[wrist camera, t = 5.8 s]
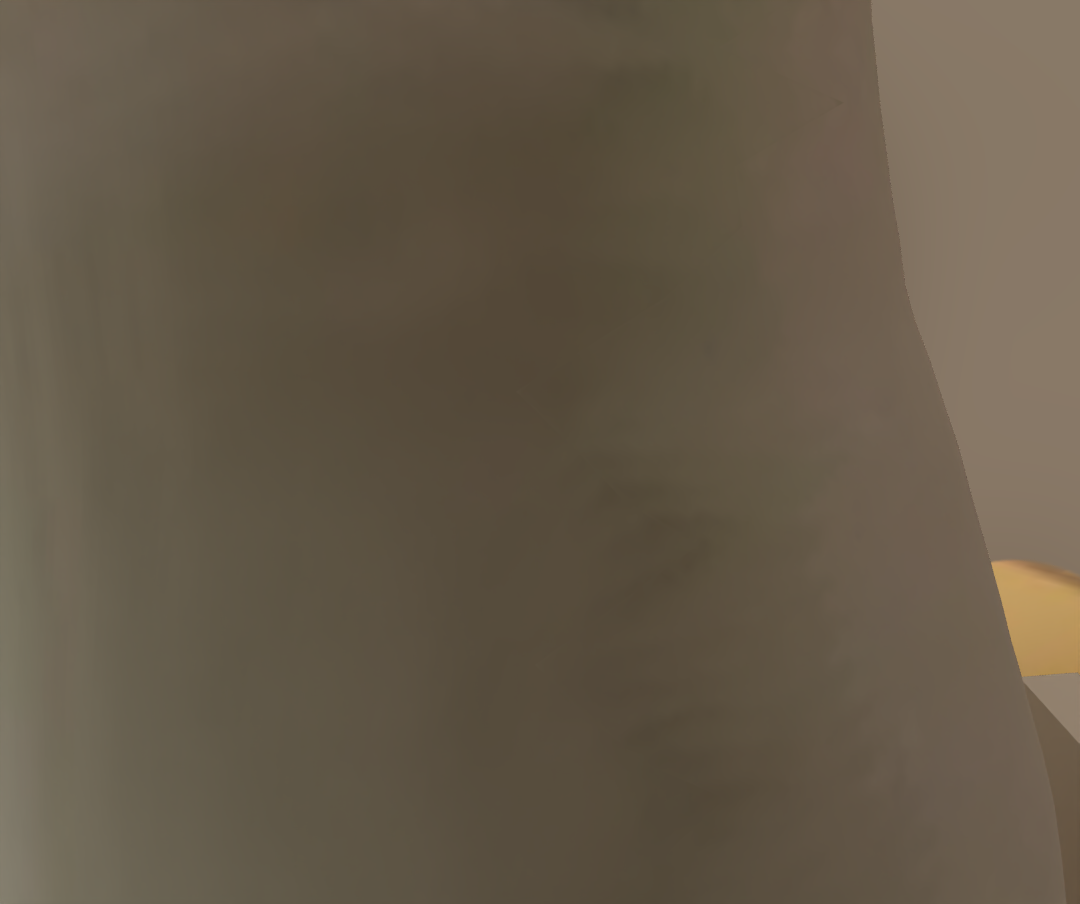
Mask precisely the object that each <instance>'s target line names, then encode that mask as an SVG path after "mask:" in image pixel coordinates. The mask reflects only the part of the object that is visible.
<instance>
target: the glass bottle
mask: <svg viewBox="0 0 1080 904" xmlns="http://www.w3.org/2000/svg"><path fill="white" fill-rule="evenodd" d="M0 904H1066V894H1065V884H1064V874H1063V864H1062V856H1061V848H1060V841H1059V834H1058V826H1057V819H1056V812H1055V805H1054V800H1053V796H1052V791H1051V787H1050V782H1049V778H1048V773H1047V769H1046V764H1045V760H1044V756H1043V752H1042V748H1041V745H1040V741H1039V738H1038V734H1037V730H1036V727H1035V723H1034V719H1033V716H1032V712H1031V709H1030V705H1029V701H1028V698H1027V694H1026V691H1025V687H1024V683H1023V680H1022V676H1021V673H1020V669H1019V665H1018V662H1017V659H1016V655H1015V652H1014V649H1013V645H1012V642H1011V638H1010V634H1009V630H1008V626H1007V622H1006V618H1005V614H1004V610H1003V606H1002V602H1001V598H1000V595H999V591H998V587H997V584H996V580H995V576H994V573H993V569H992V565H991V562H990V558H989V555H988V551H987V548H986V544H985V541H984V537H983V534H982V530H981V527H980V523H979V520H978V516H977V513H976V509H975V506H974V502H973V499H972V495H971V492H970V488H969V484H968V480H967V476H966V473H965V469H964V465H963V461H962V457H961V454H960V450H959V446H958V443H957V440H956V437H955V434H954V431H953V428H952V425H951V422H950V419H949V416H948V414H947V410H946V408H945V405H944V401H943V399H942V395H941V392H940V389H939V386H938V383H937V380H936V377H935V374H934V371H933V368H932V365H931V361H930V359H929V356H928V353H927V351H926V348H925V346H924V343H923V340H922V337H921V335H920V332H919V330H918V327H917V324H916V322H915V319H914V315H913V312H912V308H911V304H910V300H909V297H908V293H907V289H906V286H905V279H904V271H903V263H902V255H901V247H900V239H899V233H898V228H897V222H896V216H895V210H894V204H893V198H892V191H891V183H890V175H889V167H888V159H887V152H886V144H885V137H884V130H883V122H882V115H881V108H880V98H879V87H878V76H877V65H876V55H875V47H874V37H873V26H872V9H871V0H0Z"/></svg>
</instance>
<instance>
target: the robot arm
mask: <svg viewBox="0 0 1080 904" xmlns="http://www.w3.org/2000/svg"><path fill="white" fill-rule="evenodd" d="M1022 680H1023V683H1024V687H1025V691H1026V694H1027V698H1028V701H1029V705H1030V709H1031V712H1032V716H1033V719H1034V723H1035V727H1036V730H1037V734H1038V738H1039V741H1040V745H1041V748H1042V752H1043V756H1044V760H1045V764H1046V769H1047V773H1048V778H1049V782H1050V787H1051V791H1052V796H1053V800H1054V805H1055V812H1056V819H1057V826H1058V834H1059V841H1060V848H1061V856H1062V864H1063V874H1064V884H1065V894H1066V904H1080V675H1079V674H1078V673H1065V674H1053V675H1041V676H1028V677H1022Z"/></svg>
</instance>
